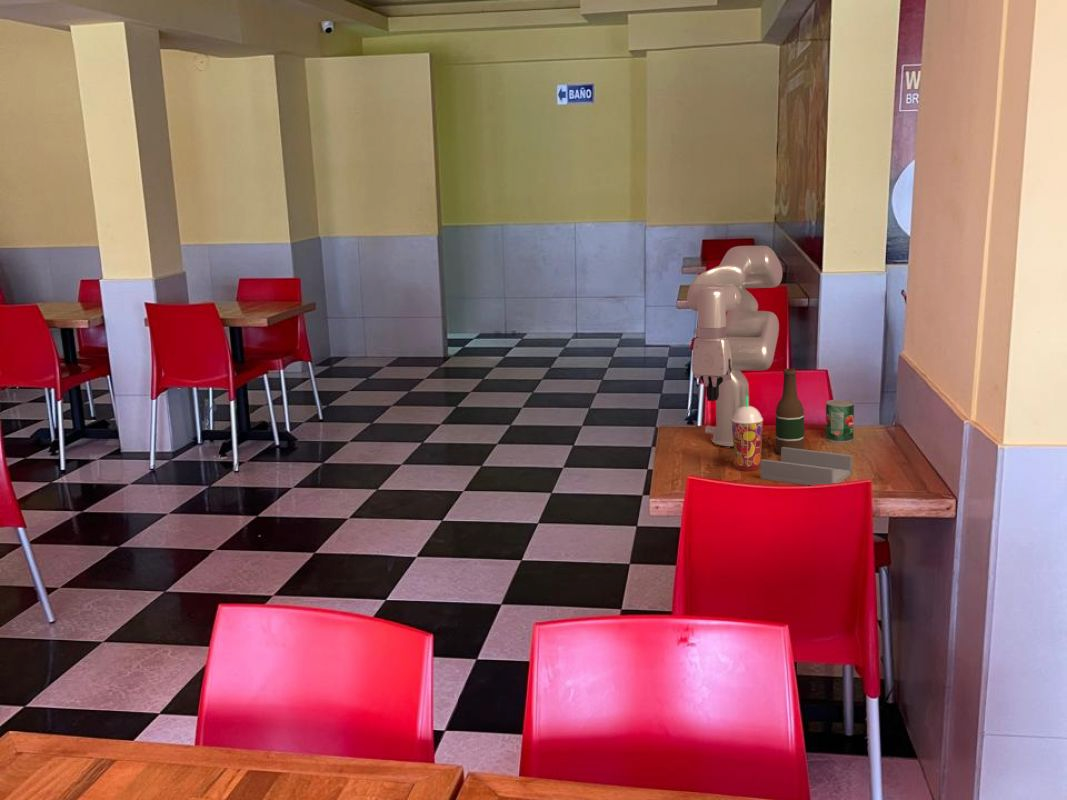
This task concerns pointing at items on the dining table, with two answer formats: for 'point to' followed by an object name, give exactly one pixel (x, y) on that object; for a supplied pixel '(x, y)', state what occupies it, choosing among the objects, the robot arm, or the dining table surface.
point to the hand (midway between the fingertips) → (712, 400)
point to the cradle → (807, 467)
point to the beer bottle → (789, 415)
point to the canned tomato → (839, 420)
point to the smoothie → (747, 437)
